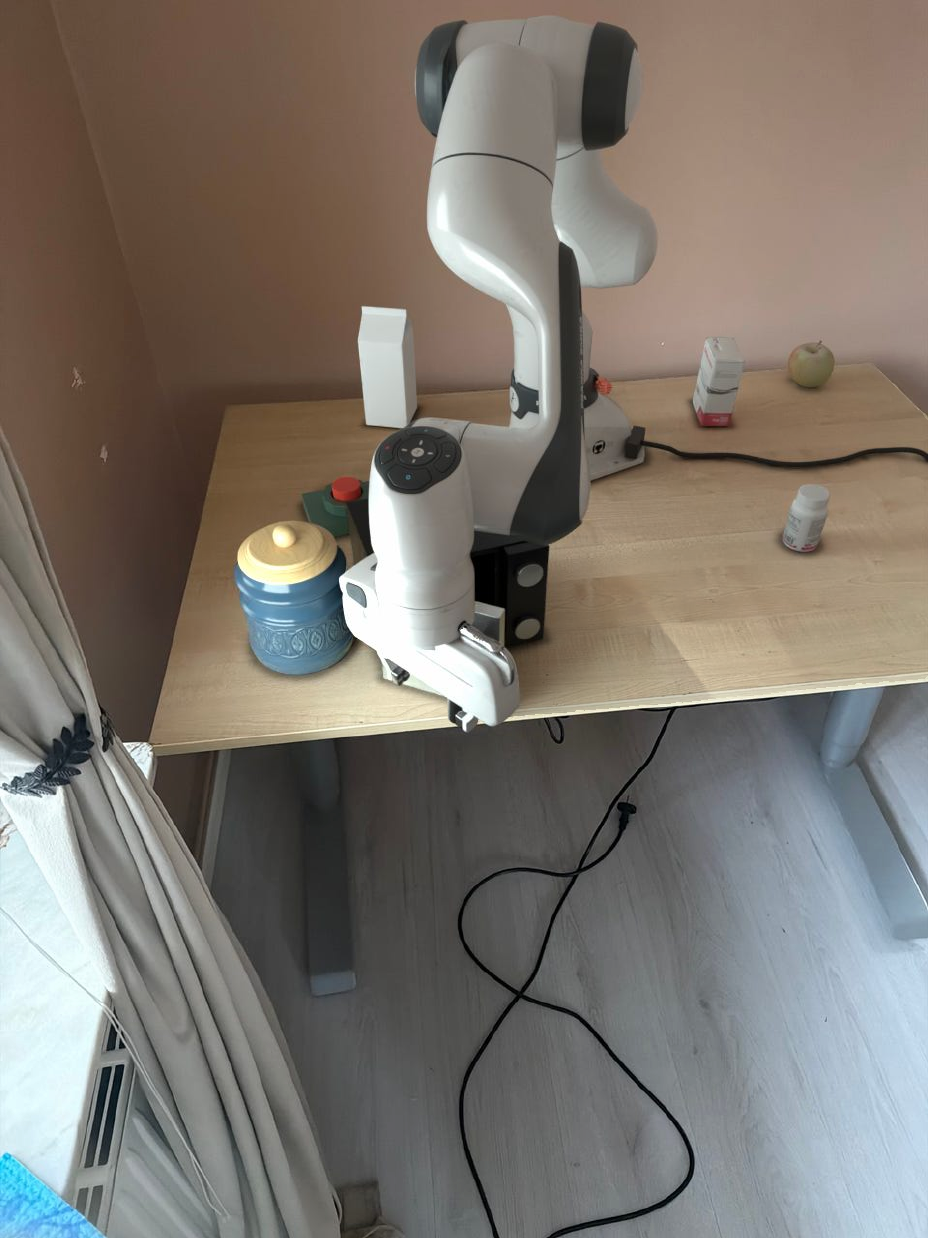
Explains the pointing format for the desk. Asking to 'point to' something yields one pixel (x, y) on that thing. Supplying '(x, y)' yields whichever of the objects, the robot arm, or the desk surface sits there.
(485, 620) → the microwave door
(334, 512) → the block
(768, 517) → the desk surface
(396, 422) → the milk carton
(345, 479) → the release button
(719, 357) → the ink box
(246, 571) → the canister
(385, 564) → the robot arm
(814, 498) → the pill bottle
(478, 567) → the microwave
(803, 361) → the fruit
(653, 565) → the desk surface
